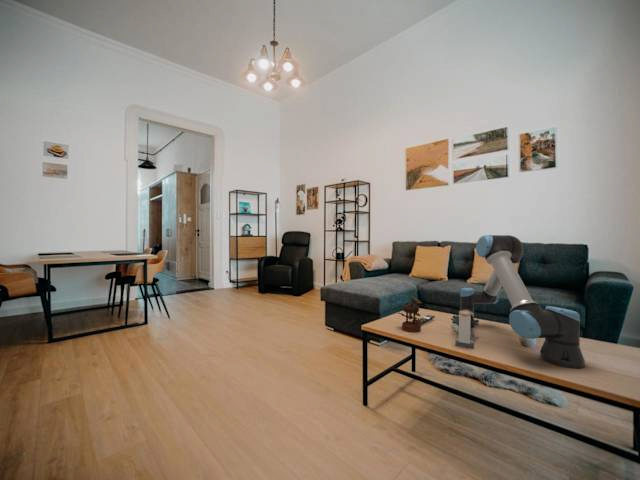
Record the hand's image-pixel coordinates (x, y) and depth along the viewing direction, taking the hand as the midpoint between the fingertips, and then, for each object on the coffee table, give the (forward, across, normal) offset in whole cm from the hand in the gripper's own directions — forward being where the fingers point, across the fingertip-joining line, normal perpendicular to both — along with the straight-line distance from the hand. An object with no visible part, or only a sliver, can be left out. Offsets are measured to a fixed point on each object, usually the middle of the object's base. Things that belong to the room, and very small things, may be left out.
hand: (464, 328), depth 144 cm
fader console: (-4, 0, -8) cm, 9 cm away
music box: (-10, +29, -8) cm, 32 cm away
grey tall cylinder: (+3, 0, -6) cm, 6 cm away
